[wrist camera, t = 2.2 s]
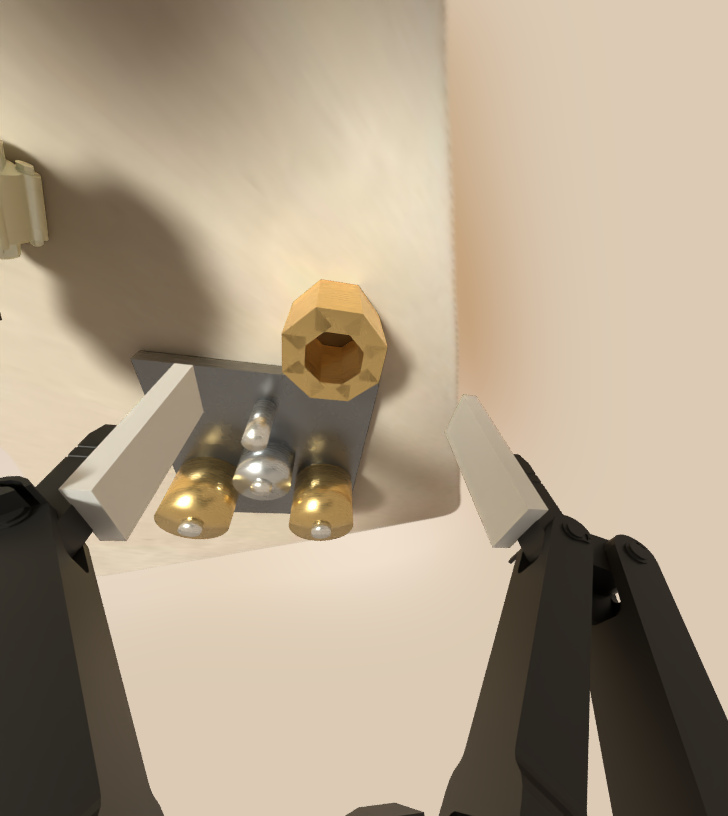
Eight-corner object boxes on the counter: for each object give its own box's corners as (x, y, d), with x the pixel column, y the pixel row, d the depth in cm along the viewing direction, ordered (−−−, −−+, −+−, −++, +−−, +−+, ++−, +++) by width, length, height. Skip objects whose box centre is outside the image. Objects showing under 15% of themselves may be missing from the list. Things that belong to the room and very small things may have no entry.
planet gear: (293, 274, 18) (281, 301, 14) (383, 289, 19) (394, 318, 15) (292, 356, 22) (282, 395, 18) (367, 365, 23) (373, 403, 19)
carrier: (139, 350, 21) (70, 412, 15) (377, 376, 24) (388, 436, 18) (194, 501, 33) (167, 564, 28) (346, 506, 36) (347, 564, 31)
